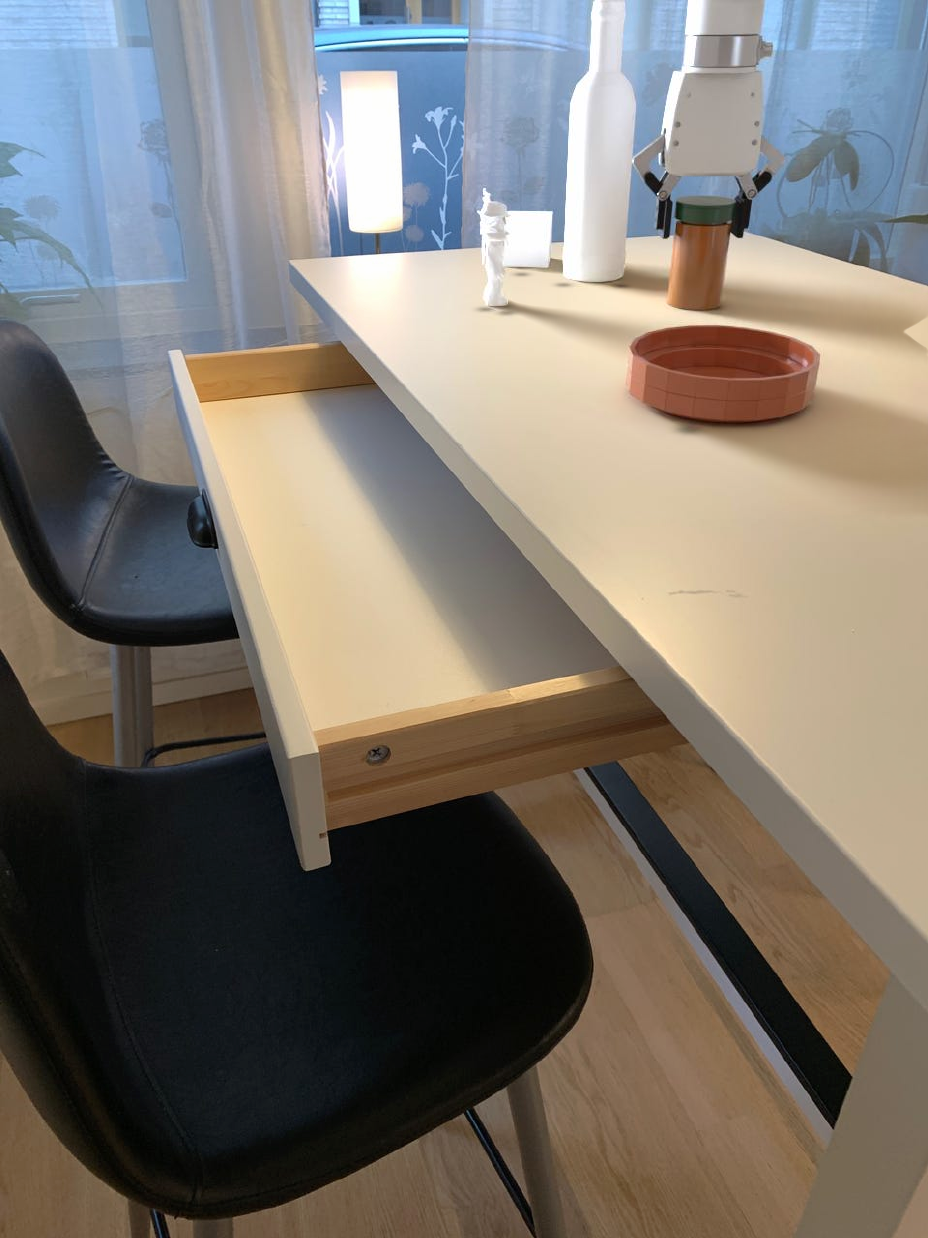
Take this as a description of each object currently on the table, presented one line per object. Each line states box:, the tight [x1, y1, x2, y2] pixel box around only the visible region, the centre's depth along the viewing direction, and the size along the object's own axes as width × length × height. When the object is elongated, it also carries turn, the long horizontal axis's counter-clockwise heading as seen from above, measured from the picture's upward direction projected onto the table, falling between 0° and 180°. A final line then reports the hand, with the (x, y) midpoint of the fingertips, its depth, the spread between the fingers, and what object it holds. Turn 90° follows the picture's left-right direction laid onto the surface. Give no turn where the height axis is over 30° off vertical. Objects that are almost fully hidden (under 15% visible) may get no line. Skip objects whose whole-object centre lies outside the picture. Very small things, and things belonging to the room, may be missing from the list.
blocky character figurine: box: [477, 188, 512, 307], centre depth 112 cm, size 9×4×12 cm, turn 2°
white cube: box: [503, 210, 553, 269], centre depth 132 cm, size 6×6×6 cm
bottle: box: [562, 0, 637, 283], centre depth 118 cm, size 8×8×30 cm
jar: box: [666, 219, 732, 311], centre depth 111 cm, size 6×6×11 cm
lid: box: [673, 195, 736, 223], centre depth 109 cm, size 7×6×2 cm
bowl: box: [625, 324, 821, 424], centre depth 86 cm, size 16×16×4 cm
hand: (700, 235), depth 110 cm, fingers open, 7 cm apart
